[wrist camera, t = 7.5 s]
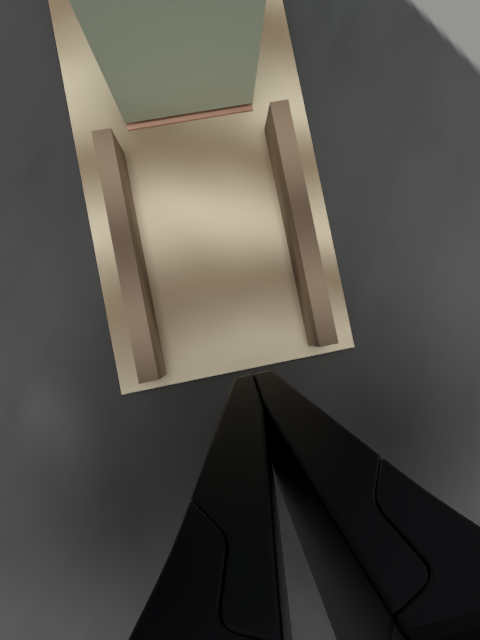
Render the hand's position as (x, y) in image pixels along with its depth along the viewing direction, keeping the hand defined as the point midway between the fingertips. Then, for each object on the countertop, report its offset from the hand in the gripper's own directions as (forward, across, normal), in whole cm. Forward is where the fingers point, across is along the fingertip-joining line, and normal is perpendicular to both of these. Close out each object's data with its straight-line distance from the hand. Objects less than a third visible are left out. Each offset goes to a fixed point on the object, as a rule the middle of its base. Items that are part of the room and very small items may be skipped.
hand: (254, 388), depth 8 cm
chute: (+13, 0, -4) cm, 13 cm away
